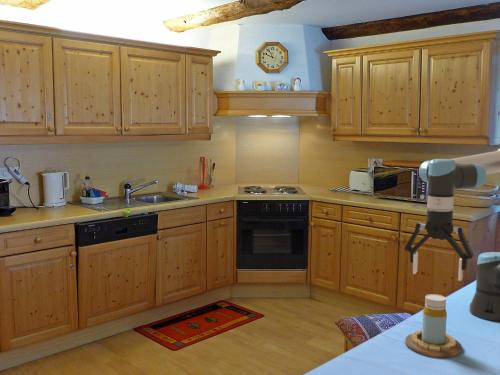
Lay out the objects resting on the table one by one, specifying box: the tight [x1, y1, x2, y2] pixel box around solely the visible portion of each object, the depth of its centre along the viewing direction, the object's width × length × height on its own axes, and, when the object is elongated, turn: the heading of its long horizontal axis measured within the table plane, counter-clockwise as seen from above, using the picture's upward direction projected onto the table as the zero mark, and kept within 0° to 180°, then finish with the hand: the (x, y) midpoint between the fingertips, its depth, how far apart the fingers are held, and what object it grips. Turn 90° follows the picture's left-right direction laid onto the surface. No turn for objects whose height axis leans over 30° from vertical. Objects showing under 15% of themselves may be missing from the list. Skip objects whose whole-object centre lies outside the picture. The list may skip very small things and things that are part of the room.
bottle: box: [421, 293, 448, 345], centre depth 167 cm, size 7×7×15 cm
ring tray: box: [404, 330, 463, 359], centre depth 168 cm, size 17×17×2 cm
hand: (437, 276), depth 165 cm, fingers open, 13 cm apart
